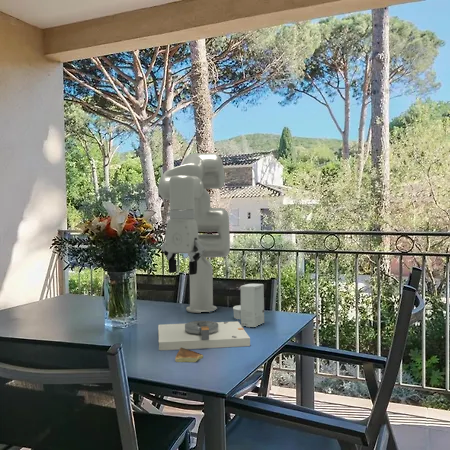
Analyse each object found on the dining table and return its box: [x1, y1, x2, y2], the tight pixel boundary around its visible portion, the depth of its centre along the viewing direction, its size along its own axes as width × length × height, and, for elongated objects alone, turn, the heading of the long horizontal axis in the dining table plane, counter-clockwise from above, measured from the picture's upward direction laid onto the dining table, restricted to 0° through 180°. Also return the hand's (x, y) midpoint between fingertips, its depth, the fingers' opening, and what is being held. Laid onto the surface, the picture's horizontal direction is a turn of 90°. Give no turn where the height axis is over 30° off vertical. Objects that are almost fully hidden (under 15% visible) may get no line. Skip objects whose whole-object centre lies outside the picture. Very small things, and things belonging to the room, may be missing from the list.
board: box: [157, 320, 251, 351], centre depth 160 cm, size 22×28×3 cm
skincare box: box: [240, 283, 265, 328], centre depth 178 cm, size 8×6×15 cm
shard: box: [174, 347, 204, 363], centre depth 142 cm, size 11×8×2 cm
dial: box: [184, 320, 218, 340], centre depth 157 cm, size 18×11×4 cm, turn 8°
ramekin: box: [232, 304, 241, 320], centre depth 189 cm, size 9×9×4 cm
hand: (182, 272), depth 151 cm, fingers open, 7 cm apart
